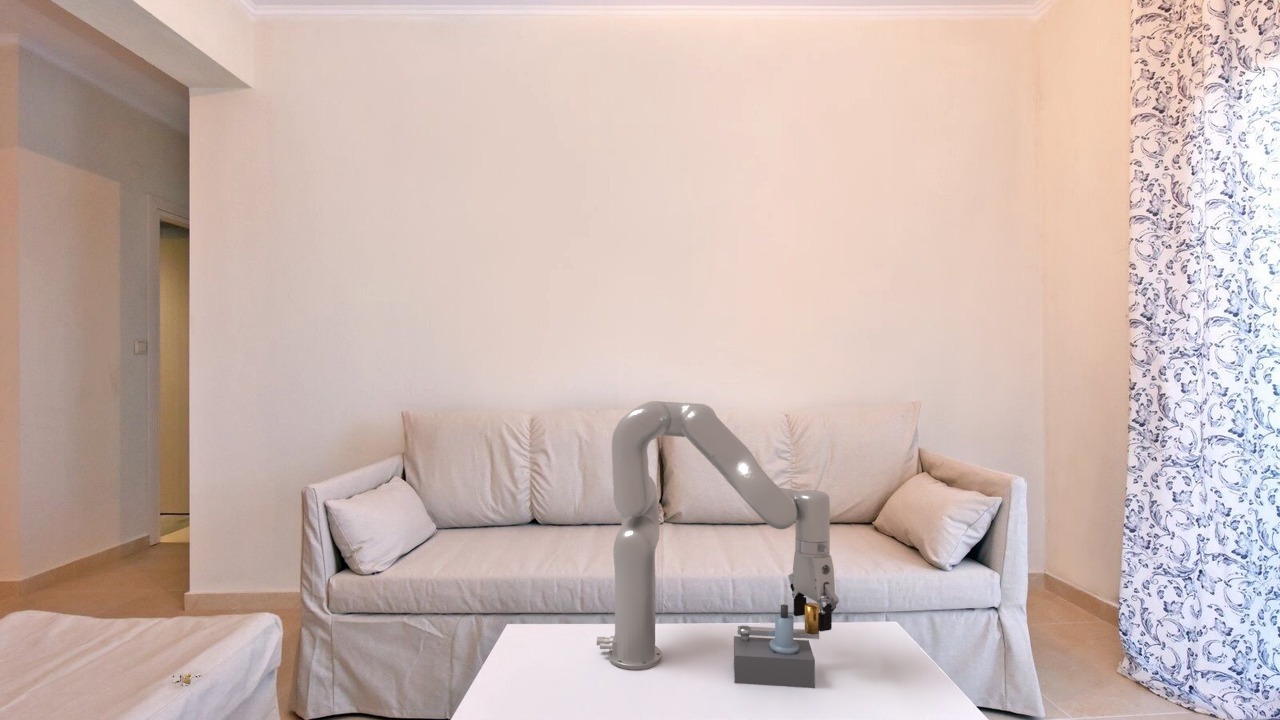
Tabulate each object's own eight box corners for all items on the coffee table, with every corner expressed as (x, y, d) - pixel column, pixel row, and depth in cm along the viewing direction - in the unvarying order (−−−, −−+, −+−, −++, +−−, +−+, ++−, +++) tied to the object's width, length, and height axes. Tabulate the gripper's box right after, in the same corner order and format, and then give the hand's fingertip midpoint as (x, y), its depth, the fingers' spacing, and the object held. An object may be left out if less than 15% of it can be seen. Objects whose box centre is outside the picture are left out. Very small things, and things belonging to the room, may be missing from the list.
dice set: (186, 689, 141) (186, 680, 141) (166, 686, 142) (166, 678, 142) (206, 678, 146) (206, 669, 146) (186, 675, 147) (186, 667, 147)
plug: (770, 672, 144) (770, 610, 144) (768, 658, 150) (768, 599, 150) (800, 674, 143) (800, 612, 143) (797, 660, 150) (797, 601, 150)
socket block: (734, 683, 143) (734, 649, 143) (733, 661, 153) (733, 630, 153) (814, 688, 141) (814, 654, 141) (808, 666, 151) (808, 635, 151)
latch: (738, 635, 150) (738, 604, 150) (737, 629, 153) (737, 599, 153) (820, 640, 148) (820, 608, 148) (818, 634, 151) (818, 602, 151)
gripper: (851, 555, 143) (851, 635, 143) (803, 534, 159) (802, 606, 159) (822, 558, 140) (822, 640, 140) (776, 538, 156) (776, 611, 156)
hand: (812, 622), depth 150 cm, fingers open, 8 cm apart
